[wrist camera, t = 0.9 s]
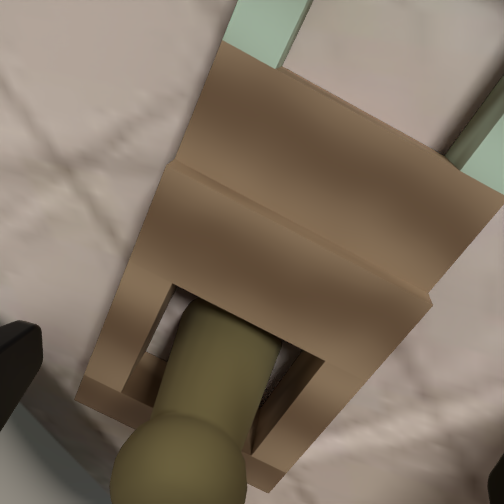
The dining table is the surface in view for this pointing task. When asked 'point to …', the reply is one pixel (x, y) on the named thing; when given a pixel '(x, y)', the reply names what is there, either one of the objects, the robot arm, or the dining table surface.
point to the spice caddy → (294, 235)
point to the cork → (199, 414)
